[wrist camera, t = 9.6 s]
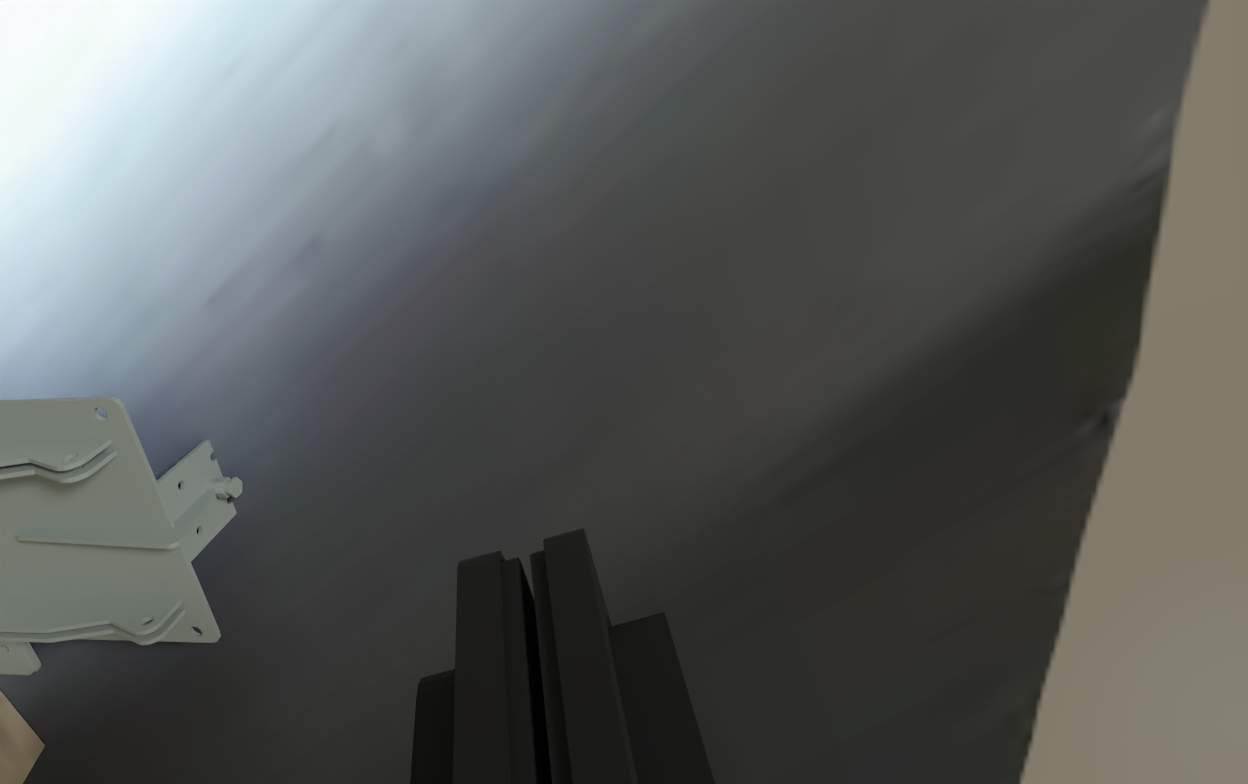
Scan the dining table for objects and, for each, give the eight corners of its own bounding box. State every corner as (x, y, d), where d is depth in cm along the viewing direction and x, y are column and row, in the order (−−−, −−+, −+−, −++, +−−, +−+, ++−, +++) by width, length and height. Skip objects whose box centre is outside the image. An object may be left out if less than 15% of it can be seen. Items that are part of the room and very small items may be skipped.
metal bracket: (77, 368, 26) (230, 715, 32) (190, 301, 31) (302, 612, 37) (-290, 382, 28) (-78, 701, 35) (-129, 317, 33) (29, 606, 40)
